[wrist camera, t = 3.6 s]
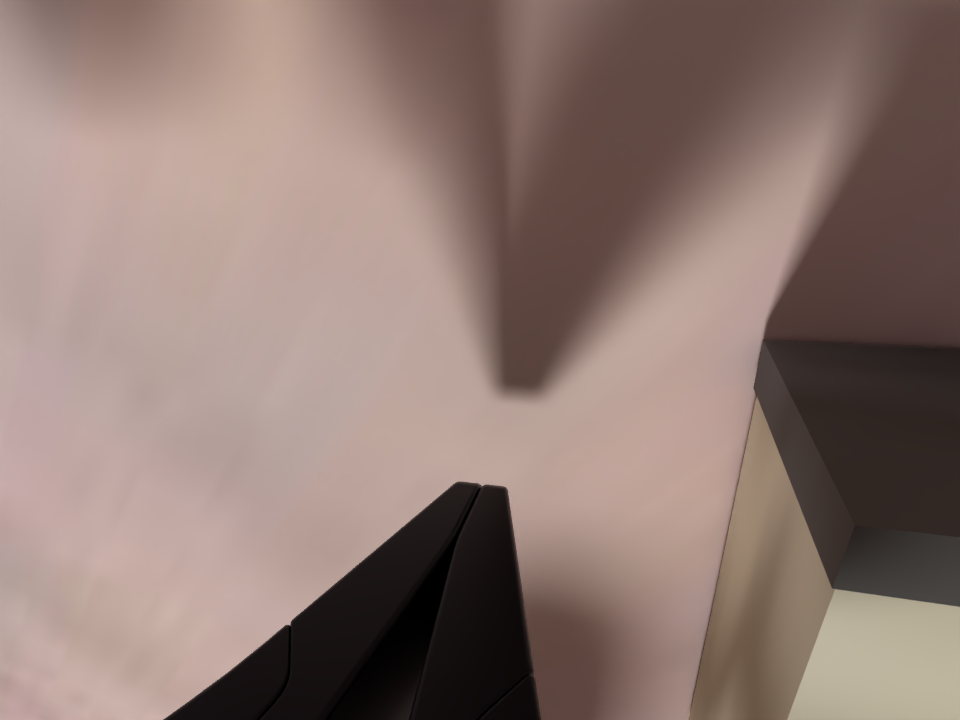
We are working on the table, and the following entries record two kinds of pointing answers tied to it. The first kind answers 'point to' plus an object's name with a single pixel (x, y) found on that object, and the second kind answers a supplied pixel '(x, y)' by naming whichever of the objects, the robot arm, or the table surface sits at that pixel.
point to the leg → (842, 542)
